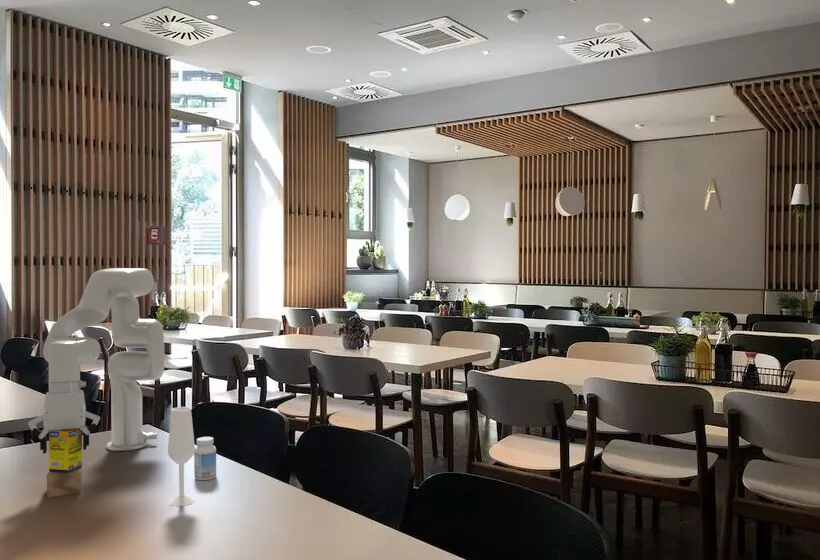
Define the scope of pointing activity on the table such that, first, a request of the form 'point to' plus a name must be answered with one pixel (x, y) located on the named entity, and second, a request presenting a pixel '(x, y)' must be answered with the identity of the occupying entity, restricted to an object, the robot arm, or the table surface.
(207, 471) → the pill bottle
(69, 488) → the tan wooden block
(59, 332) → the robot arm
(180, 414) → the champagne flute
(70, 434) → the supplement box
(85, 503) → the table surface
